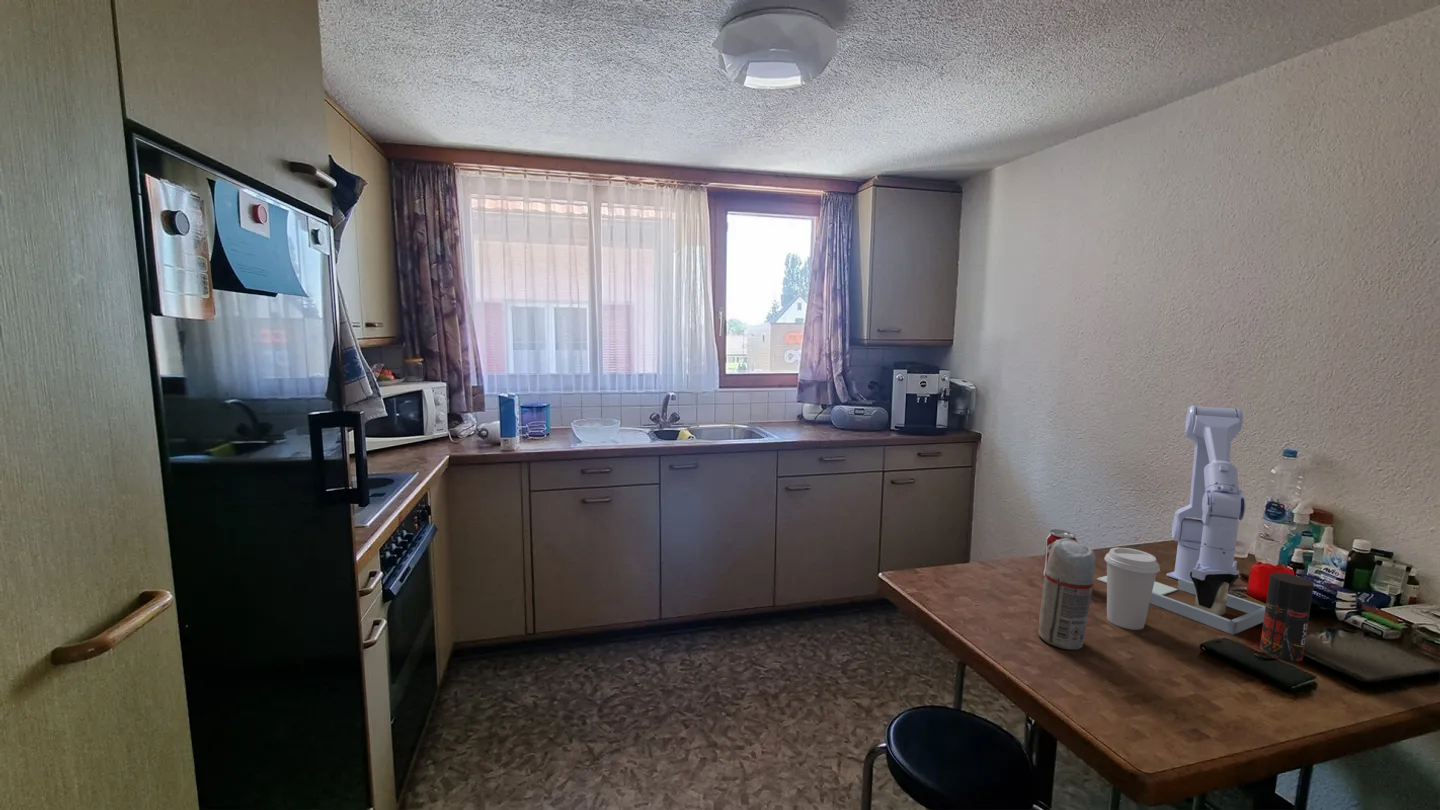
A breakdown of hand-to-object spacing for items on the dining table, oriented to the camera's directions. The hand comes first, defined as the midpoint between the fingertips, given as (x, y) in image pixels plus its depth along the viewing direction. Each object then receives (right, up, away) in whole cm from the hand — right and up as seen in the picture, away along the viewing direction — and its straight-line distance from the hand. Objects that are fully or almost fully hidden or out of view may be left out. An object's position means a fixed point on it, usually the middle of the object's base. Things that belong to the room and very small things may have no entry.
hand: (1210, 604), depth 128 cm
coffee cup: (-23, -2, -6) cm, 24 cm away
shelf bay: (0, -2, +1) cm, 2 cm away
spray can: (-41, -3, -14) cm, 43 cm away
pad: (-7, 0, +14) cm, 15 cm away
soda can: (-25, +1, +16) cm, 29 cm away
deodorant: (-1, -4, -17) cm, 17 cm away
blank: (0, -2, 0) cm, 2 cm away
